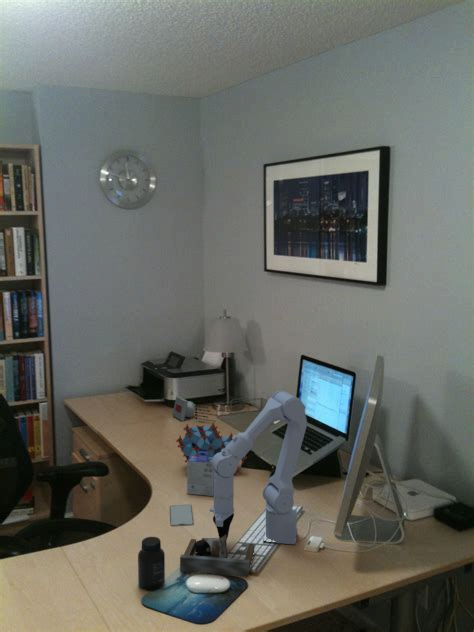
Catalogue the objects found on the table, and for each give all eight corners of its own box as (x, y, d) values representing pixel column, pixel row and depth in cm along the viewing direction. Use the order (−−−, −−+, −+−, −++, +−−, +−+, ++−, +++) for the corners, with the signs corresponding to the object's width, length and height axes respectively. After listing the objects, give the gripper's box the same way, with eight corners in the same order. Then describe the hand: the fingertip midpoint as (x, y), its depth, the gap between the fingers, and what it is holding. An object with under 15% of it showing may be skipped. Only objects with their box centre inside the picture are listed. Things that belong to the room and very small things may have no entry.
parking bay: (254, 552, 185) (254, 538, 184) (248, 577, 172) (248, 562, 171) (191, 547, 187) (191, 534, 187) (180, 571, 174) (180, 557, 174)
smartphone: (191, 504, 216) (194, 524, 201) (191, 506, 216) (194, 526, 201) (169, 505, 215) (170, 525, 200) (169, 507, 215) (170, 527, 200)
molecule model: (245, 440, 256) (192, 410, 250) (253, 452, 242) (196, 421, 236) (224, 475, 256) (170, 446, 250) (230, 489, 242) (173, 458, 236)
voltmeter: (166, 419, 312) (166, 399, 311) (178, 413, 322) (178, 394, 321) (215, 427, 301) (215, 406, 300) (226, 420, 311) (226, 400, 310)
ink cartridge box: (217, 490, 228) (218, 451, 226) (214, 496, 223) (214, 456, 221) (190, 488, 230) (190, 449, 228) (186, 494, 225) (186, 454, 223)
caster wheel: (202, 554, 188) (234, 554, 185) (187, 565, 178) (221, 565, 175) (200, 530, 189) (233, 530, 186) (186, 540, 178) (220, 540, 175)
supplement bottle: (165, 577, 171) (165, 534, 170) (163, 591, 164) (163, 547, 163) (140, 577, 171) (139, 534, 169) (136, 591, 164) (136, 547, 163)
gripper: (214, 483, 193) (214, 526, 195) (204, 504, 179) (204, 550, 181) (237, 485, 192) (237, 528, 194) (229, 505, 178) (229, 552, 180)
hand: (223, 539), depth 187 cm, fingers closed
